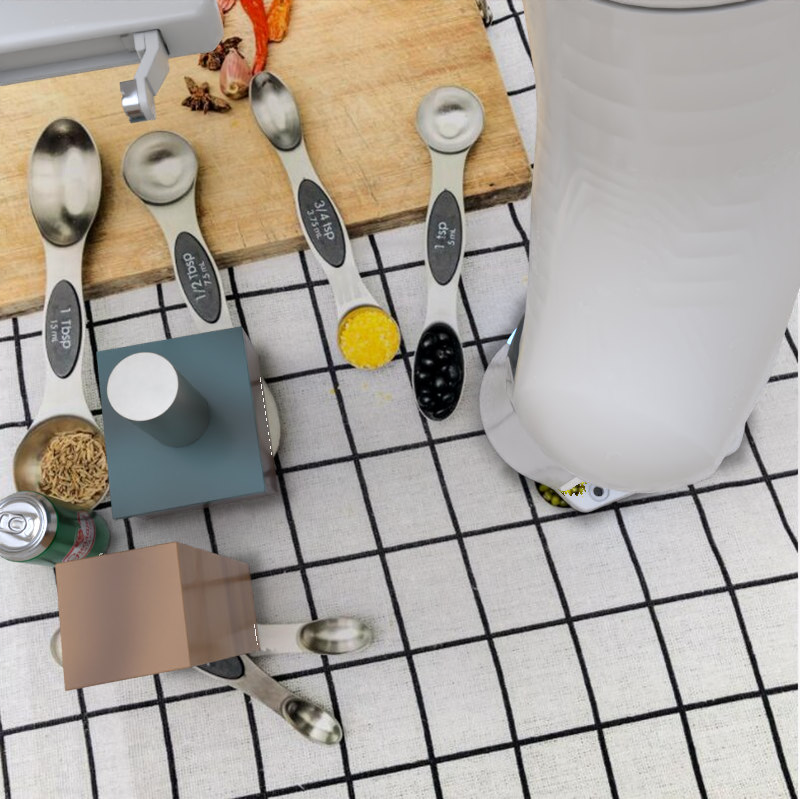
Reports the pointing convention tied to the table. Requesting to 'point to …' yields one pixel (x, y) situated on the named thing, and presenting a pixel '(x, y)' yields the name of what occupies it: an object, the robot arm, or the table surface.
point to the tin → (158, 399)
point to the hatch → (203, 459)
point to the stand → (152, 613)
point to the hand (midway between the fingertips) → (58, 129)
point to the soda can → (49, 530)
